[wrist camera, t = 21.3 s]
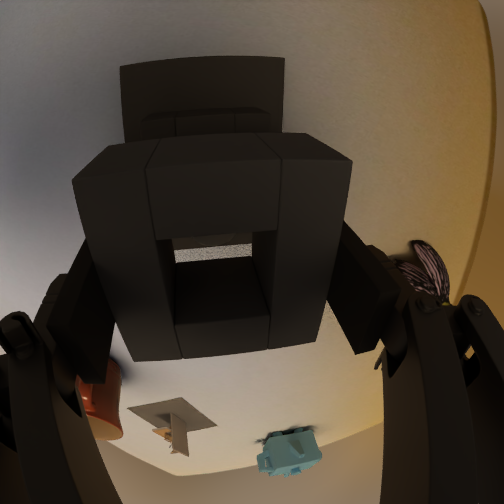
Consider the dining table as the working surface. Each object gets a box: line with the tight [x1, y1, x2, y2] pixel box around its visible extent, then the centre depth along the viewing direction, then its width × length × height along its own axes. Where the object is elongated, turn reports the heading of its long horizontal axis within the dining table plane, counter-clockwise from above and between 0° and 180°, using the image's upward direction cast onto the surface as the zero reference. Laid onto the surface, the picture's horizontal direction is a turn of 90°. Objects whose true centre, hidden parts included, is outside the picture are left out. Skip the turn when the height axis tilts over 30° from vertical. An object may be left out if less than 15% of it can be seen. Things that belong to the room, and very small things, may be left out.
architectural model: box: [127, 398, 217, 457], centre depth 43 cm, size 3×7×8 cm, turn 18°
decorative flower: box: [394, 240, 453, 306], centre depth 32 cm, size 15×12×15 cm
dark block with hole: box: [140, 107, 271, 141], centre depth 20 cm, size 8×8×4 cm
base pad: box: [120, 56, 285, 250], centre depth 18 cm, size 16×12×12 cm
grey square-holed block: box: [72, 133, 353, 362], centre depth 11 cm, size 8×8×4 cm
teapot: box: [257, 428, 322, 477], centre depth 57 cm, size 16×18×11 cm
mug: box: [75, 358, 123, 440], centre depth 30 cm, size 12×9×10 cm
